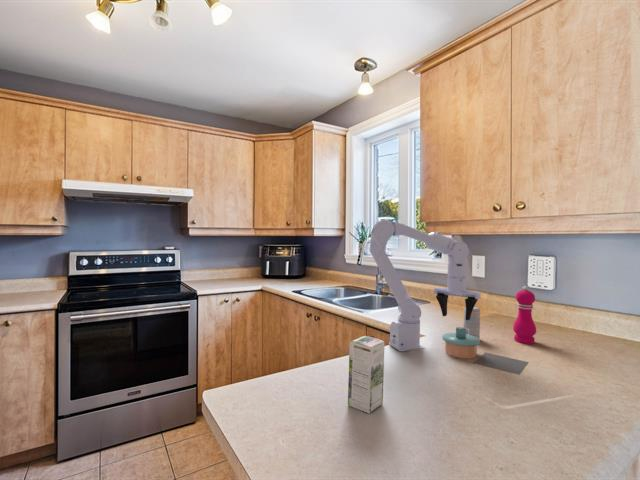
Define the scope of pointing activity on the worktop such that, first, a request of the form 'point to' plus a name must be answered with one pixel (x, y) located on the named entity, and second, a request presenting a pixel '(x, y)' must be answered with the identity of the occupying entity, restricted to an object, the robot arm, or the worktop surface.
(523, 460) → the worktop surface
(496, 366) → the mat
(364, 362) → the syrup box
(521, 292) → the pepper mill
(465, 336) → the cover
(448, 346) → the bowl
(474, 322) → the energy drink
